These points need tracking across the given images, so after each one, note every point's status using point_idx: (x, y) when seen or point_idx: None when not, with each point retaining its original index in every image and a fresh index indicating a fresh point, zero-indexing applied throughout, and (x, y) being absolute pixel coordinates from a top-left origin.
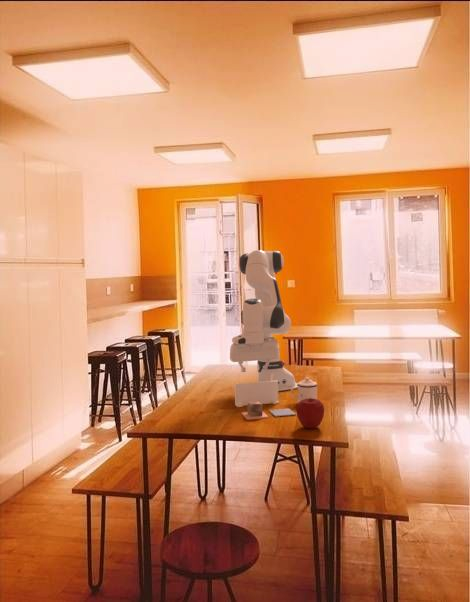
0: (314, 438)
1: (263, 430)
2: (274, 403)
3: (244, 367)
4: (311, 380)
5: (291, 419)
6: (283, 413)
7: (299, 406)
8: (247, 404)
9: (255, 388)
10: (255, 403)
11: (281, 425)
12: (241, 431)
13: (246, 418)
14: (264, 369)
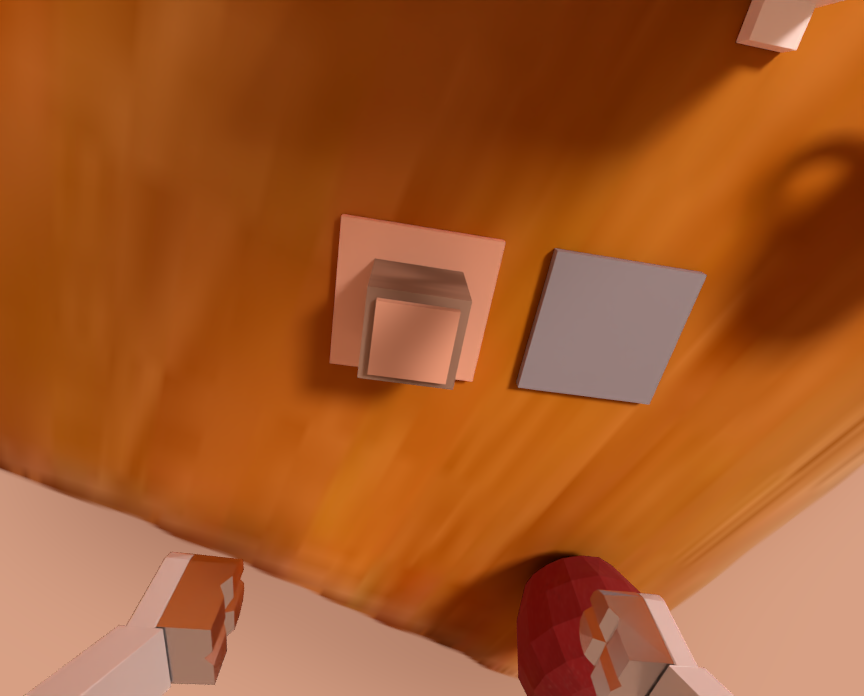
0: (493, 654)
1: (348, 532)
2: (744, 42)
3: (201, 653)
4: None
5: (571, 449)
6: (592, 365)
7: (531, 692)
8: (369, 279)
9: None
10: (408, 366)
11: (465, 506)
12: (237, 509)
13: (332, 340)
14: (587, 649)
